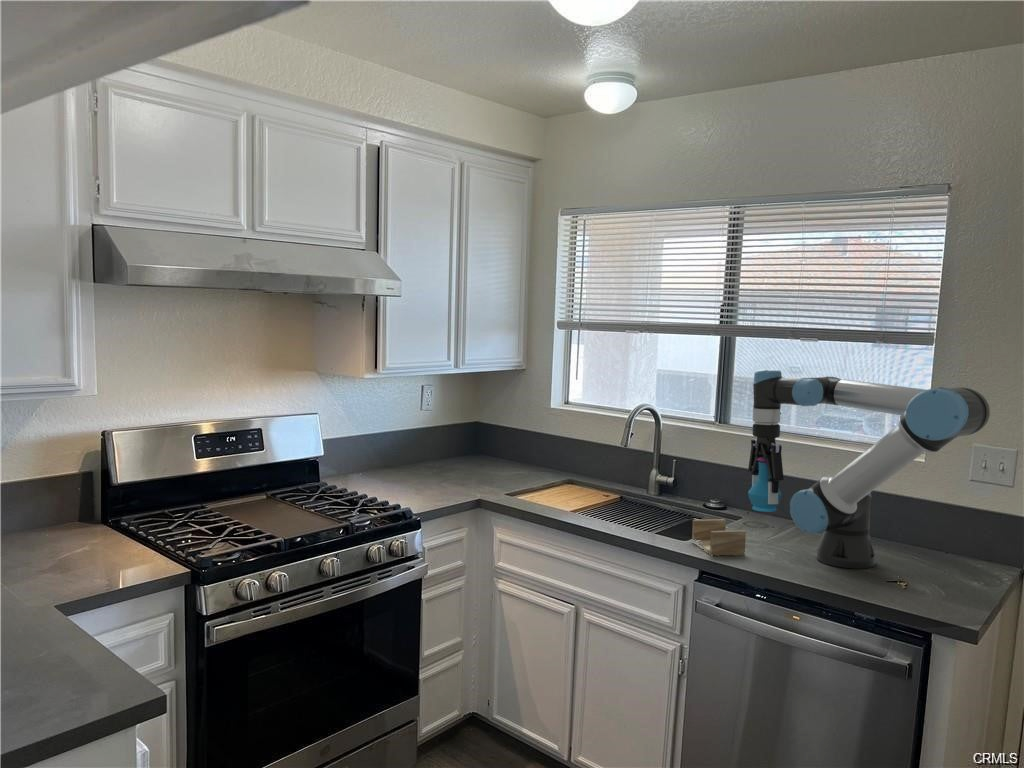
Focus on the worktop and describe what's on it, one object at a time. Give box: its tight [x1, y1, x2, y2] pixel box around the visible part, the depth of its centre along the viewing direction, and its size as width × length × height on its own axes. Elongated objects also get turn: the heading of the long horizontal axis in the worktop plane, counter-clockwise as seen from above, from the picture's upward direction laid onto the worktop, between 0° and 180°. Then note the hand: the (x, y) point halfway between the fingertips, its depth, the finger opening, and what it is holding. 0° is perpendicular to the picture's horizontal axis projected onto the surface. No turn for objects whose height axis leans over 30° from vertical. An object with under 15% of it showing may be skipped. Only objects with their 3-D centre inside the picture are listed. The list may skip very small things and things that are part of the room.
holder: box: [691, 518, 747, 556], centre depth 224 cm, size 15×10×7 cm, turn 8°
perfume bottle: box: [747, 457, 782, 513], centre depth 218 cm, size 9×9×15 cm
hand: (764, 500), depth 219 cm, fingers closed on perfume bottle, 9 cm apart
